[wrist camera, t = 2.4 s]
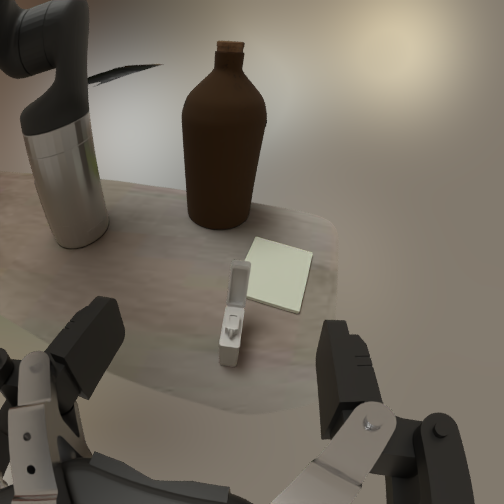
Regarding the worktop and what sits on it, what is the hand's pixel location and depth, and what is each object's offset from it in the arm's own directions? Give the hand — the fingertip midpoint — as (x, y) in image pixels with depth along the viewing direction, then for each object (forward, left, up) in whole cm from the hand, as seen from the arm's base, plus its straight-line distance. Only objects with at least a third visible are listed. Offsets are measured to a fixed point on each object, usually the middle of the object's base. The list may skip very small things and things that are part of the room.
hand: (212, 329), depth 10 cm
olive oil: (-11, +28, -17) cm, 34 cm away
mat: (0, +19, -17) cm, 25 cm away
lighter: (-2, +9, -17) cm, 19 cm away
